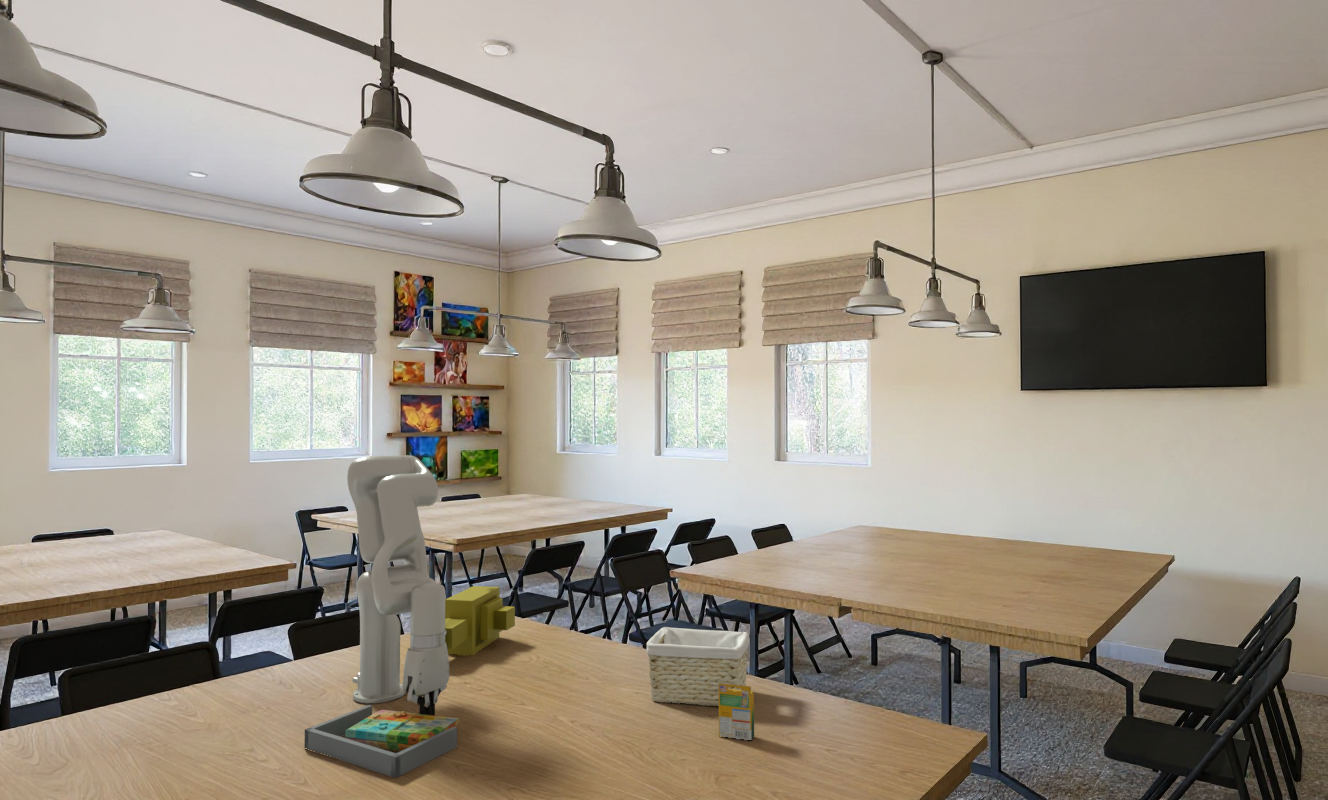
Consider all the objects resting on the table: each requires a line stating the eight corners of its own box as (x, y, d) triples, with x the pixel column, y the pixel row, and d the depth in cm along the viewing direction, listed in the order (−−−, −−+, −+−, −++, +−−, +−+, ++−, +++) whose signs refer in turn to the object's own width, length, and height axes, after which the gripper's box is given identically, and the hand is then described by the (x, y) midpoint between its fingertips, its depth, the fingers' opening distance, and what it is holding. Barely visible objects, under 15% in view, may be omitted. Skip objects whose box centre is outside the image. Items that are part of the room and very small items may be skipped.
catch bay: (304, 748, 160) (304, 729, 160) (368, 722, 174) (368, 704, 174) (395, 778, 146) (395, 757, 146) (456, 747, 160) (456, 727, 160)
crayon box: (754, 736, 165) (754, 682, 166) (751, 741, 163) (751, 686, 163) (722, 732, 168) (721, 678, 168) (718, 737, 165) (718, 683, 165)
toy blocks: (474, 584, 248) (521, 586, 245) (474, 634, 248) (521, 636, 244) (420, 610, 214) (474, 612, 211) (420, 668, 213) (474, 671, 210)
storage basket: (644, 703, 186) (644, 642, 186) (661, 681, 202) (661, 625, 202) (741, 712, 180) (741, 649, 180) (751, 689, 195) (750, 631, 196)
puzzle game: (379, 706, 172) (458, 714, 167) (379, 727, 172) (458, 736, 167) (345, 726, 161) (429, 735, 155) (344, 748, 160) (429, 758, 155)
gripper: (440, 629, 180) (439, 708, 180) (389, 646, 167) (388, 730, 167) (463, 634, 177) (463, 714, 176) (414, 650, 164) (413, 737, 163)
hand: (427, 722), depth 171 cm, fingers closed
